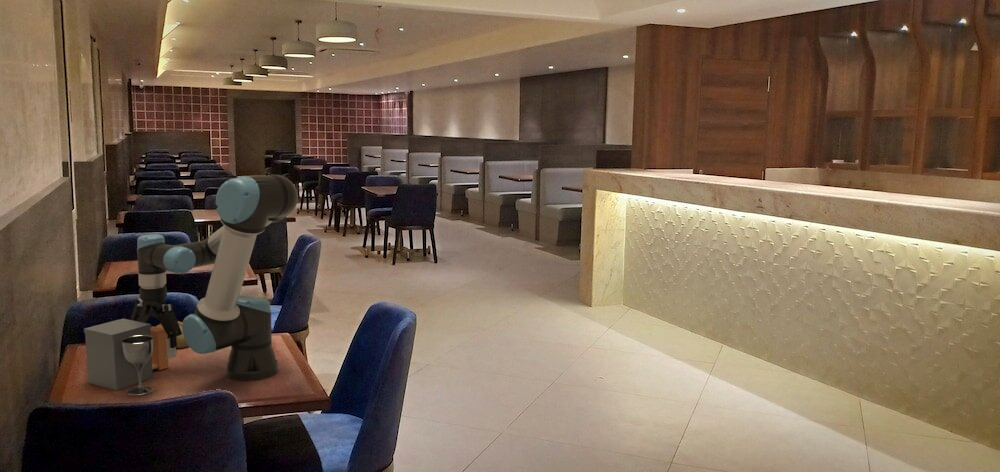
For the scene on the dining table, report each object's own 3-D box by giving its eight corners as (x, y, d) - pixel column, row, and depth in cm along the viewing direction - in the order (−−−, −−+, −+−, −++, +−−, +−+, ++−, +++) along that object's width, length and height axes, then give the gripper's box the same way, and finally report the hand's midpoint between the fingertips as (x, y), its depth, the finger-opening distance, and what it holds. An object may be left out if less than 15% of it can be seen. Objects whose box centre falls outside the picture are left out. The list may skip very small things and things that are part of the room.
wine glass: (118, 393, 212) (114, 341, 210) (140, 384, 220) (137, 333, 217) (140, 397, 209) (137, 344, 207) (162, 388, 217) (159, 337, 214)
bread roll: (165, 338, 263) (164, 315, 262) (199, 343, 258) (198, 321, 257) (143, 346, 255) (142, 322, 253) (178, 351, 249) (177, 328, 248)
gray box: (154, 377, 225) (151, 323, 223) (115, 390, 214) (112, 334, 211) (127, 370, 231) (123, 318, 228) (87, 383, 219) (83, 328, 217)
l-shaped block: (168, 367, 233) (166, 329, 231) (137, 377, 224) (134, 338, 222) (154, 363, 236) (152, 326, 234) (123, 374, 226) (121, 335, 224)
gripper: (192, 289, 227) (195, 357, 231) (135, 278, 238) (138, 344, 241) (171, 294, 220) (174, 364, 224) (113, 283, 231) (117, 350, 235)
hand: (156, 354), depth 233 cm, fingers open, 13 cm apart
